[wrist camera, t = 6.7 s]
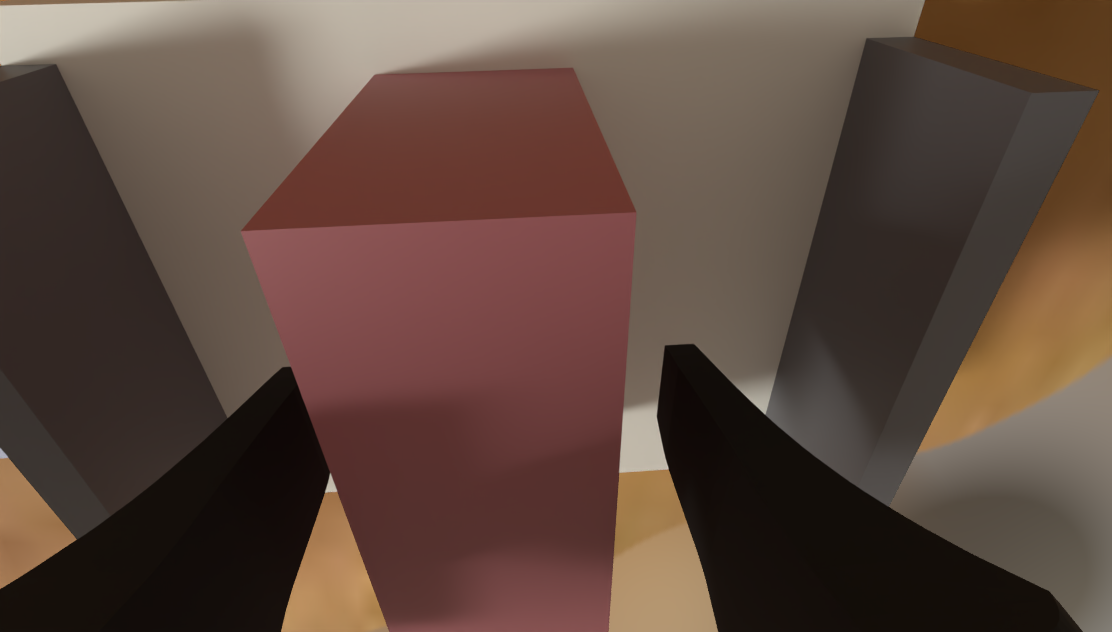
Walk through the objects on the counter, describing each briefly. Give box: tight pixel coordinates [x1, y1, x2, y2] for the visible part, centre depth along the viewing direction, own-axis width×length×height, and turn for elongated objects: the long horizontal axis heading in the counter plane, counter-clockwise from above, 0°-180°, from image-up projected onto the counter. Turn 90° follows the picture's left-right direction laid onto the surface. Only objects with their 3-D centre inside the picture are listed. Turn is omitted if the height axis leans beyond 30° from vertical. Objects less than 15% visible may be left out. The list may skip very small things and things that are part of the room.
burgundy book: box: [241, 68, 637, 632], centre depth 12 cm, size 4×10×7 cm, turn 1°
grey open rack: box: [0, 0, 1099, 539], centre depth 14 cm, size 18×14×6 cm
